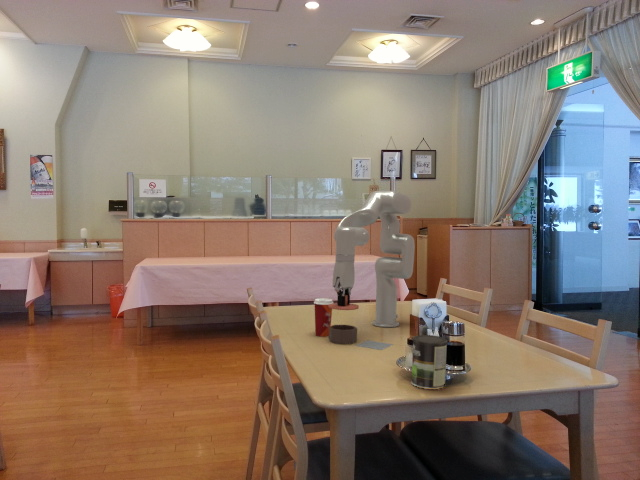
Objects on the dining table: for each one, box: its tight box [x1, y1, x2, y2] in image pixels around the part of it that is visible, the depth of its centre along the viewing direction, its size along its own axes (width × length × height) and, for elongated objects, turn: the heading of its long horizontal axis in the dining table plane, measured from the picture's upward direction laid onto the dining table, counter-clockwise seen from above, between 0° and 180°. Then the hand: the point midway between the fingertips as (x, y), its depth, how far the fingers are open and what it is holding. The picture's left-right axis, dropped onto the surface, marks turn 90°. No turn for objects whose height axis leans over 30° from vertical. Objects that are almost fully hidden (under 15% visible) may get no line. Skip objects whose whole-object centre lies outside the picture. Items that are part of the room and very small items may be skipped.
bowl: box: [328, 324, 358, 345], centre depth 215 cm, size 10×10×6 cm
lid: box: [328, 295, 360, 311], centre depth 214 cm, size 12×12×5 cm
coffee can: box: [410, 334, 448, 388], centre depth 164 cm, size 10×10×14 cm
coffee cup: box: [313, 297, 334, 338], centre depth 227 cm, size 8×8×15 cm
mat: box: [354, 339, 394, 351], centre depth 210 cm, size 11×11×1 cm
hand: (343, 304), depth 214 cm, fingers closed on lid, 3 cm apart
